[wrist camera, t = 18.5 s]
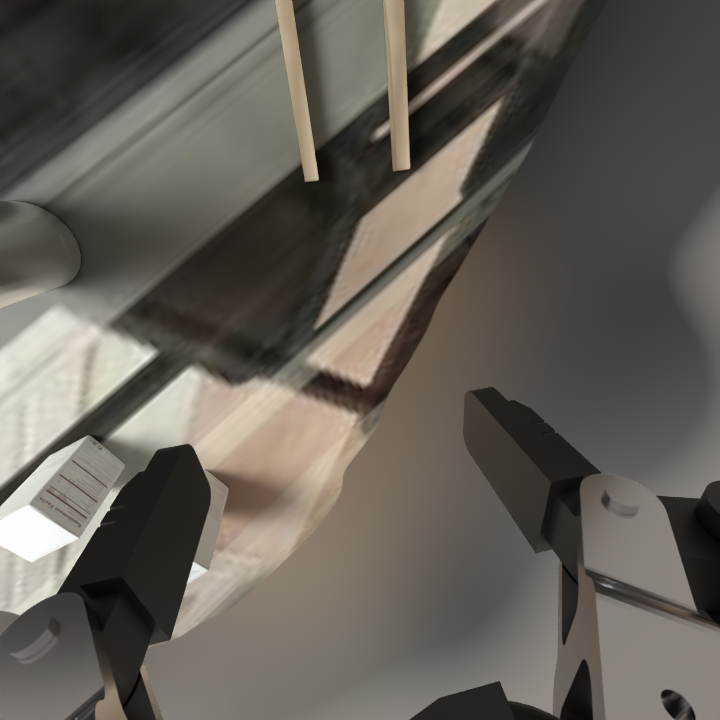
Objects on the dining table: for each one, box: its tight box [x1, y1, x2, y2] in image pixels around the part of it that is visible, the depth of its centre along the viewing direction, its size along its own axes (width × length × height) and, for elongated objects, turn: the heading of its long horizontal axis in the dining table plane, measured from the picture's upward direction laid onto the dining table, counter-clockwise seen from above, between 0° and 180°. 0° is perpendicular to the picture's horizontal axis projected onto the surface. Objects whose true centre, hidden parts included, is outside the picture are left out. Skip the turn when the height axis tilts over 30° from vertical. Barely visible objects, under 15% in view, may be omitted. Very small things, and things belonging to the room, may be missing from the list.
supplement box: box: [0, 435, 126, 562], centre depth 44 cm, size 7×7×13 cm
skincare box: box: [187, 470, 229, 584], centre depth 49 cm, size 8×6×15 cm
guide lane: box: [275, 0, 410, 182], centre depth 31 cm, size 12×27×4 cm, turn 7°
